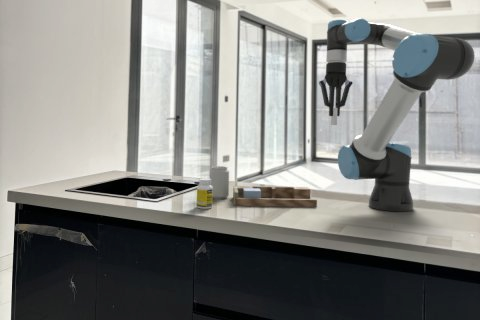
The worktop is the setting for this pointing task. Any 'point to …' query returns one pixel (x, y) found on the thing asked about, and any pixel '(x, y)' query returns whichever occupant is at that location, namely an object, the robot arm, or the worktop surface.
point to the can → (220, 182)
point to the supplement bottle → (204, 194)
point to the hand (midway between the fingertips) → (333, 124)
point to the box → (275, 197)
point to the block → (251, 193)
